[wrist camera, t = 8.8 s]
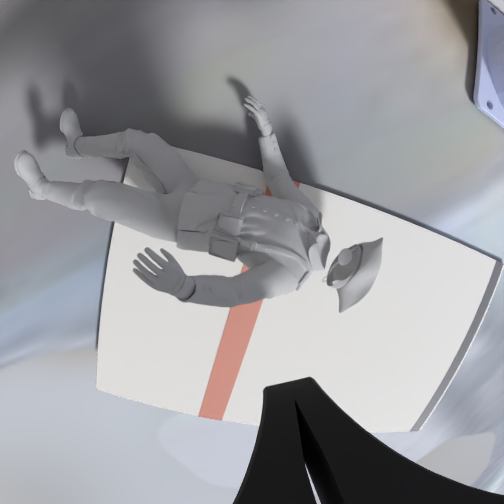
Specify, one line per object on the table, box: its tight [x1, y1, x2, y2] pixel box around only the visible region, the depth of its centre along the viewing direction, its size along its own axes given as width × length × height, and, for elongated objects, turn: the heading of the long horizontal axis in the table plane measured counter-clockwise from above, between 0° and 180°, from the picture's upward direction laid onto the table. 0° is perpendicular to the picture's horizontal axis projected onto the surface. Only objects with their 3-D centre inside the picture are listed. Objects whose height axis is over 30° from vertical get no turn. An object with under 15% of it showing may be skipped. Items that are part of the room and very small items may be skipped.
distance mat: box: [96, 146, 504, 433], centre depth 14 cm, size 20×12×1 cm, turn 73°
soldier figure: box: [14, 96, 383, 313], centre depth 10 cm, size 8×5×12 cm
